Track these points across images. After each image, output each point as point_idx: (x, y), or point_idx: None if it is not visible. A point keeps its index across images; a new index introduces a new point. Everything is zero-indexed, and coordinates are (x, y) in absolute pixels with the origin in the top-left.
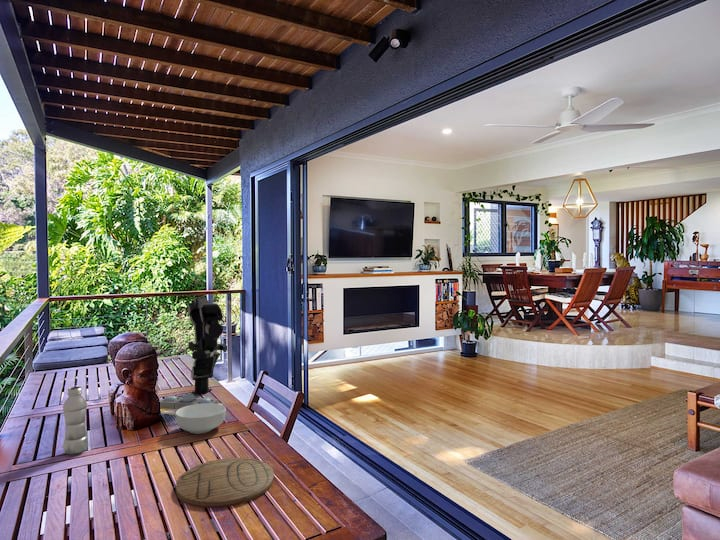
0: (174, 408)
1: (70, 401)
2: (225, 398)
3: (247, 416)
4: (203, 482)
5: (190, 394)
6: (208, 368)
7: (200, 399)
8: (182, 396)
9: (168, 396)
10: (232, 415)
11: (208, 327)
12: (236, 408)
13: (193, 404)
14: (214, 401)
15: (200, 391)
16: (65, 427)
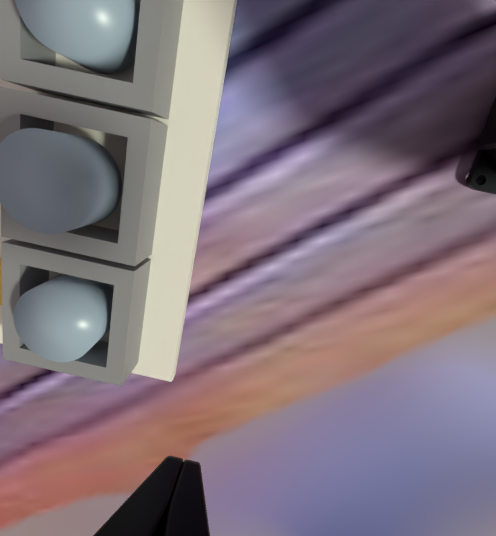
0: (39, 92)
1: None
2: (326, 357)
3: (27, 501)
4: None
5: (60, 201)
6: (127, 505)
7: (39, 294)
8: (4, 142)
9: None
10: (29, 444)
11: None
12: (134, 444)
13: (4, 251)
14: (73, 374)
15: (484, 147)
16: None
